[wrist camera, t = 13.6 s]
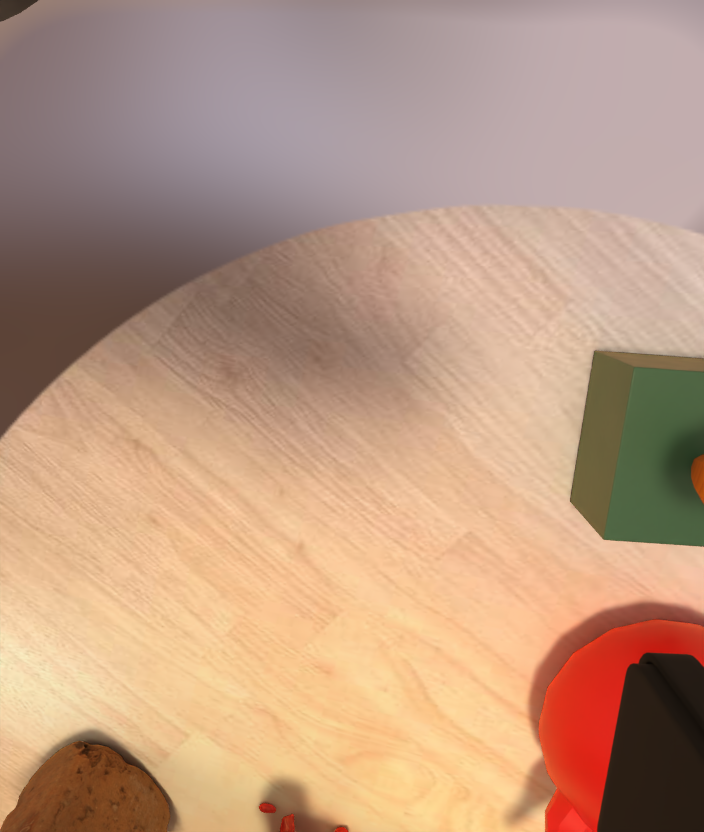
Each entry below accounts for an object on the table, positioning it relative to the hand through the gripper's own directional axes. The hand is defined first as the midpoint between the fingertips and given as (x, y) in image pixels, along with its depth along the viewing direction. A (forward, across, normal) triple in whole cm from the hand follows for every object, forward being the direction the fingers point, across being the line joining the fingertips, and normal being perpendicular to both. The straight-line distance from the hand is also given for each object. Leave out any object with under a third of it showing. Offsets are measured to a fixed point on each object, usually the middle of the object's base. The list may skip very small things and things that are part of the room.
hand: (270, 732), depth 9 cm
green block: (+33, -21, +4) cm, 39 cm away
